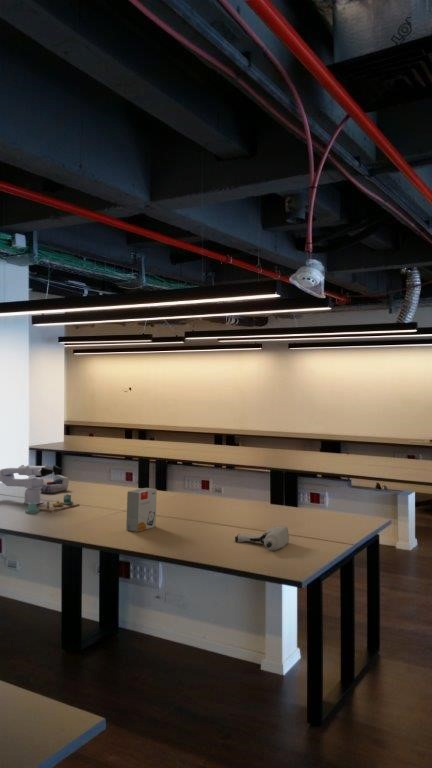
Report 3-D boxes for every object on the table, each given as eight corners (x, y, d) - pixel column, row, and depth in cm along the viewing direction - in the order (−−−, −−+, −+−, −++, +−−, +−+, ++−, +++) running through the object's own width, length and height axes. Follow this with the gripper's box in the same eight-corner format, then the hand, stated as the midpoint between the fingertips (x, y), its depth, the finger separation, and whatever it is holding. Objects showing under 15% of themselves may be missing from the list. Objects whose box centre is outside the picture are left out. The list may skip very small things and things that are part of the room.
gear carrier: (51, 512, 332) (51, 500, 332) (35, 509, 339) (35, 498, 339) (79, 505, 352) (79, 494, 352) (63, 503, 359) (64, 492, 359)
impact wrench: (223, 543, 262) (275, 535, 254) (239, 531, 283) (287, 524, 275) (227, 560, 262) (279, 554, 253) (242, 548, 283) (291, 541, 274)
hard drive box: (137, 532, 289) (137, 493, 289) (125, 530, 293) (126, 491, 293) (156, 526, 302) (157, 488, 302) (145, 524, 306) (145, 487, 306)
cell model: (71, 475, 402) (48, 479, 385) (70, 490, 402) (48, 495, 385) (58, 473, 409) (35, 477, 392) (58, 488, 409) (35, 493, 393)
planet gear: (22, 512, 331) (22, 503, 331) (32, 510, 338) (32, 501, 338) (31, 514, 327) (31, 504, 327) (42, 511, 334) (42, 502, 334)
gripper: (31, 465, 348) (47, 465, 341) (49, 462, 361) (65, 463, 354) (32, 477, 348) (48, 477, 341) (50, 474, 360) (66, 474, 353)
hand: (57, 471), depth 347 cm, fingers open, 7 cm apart
